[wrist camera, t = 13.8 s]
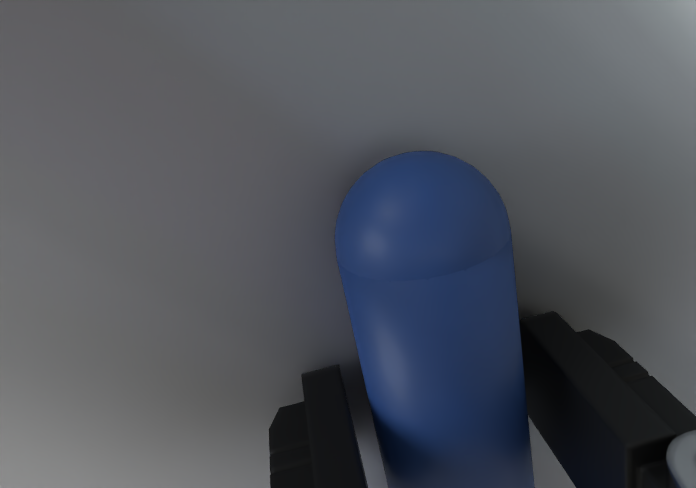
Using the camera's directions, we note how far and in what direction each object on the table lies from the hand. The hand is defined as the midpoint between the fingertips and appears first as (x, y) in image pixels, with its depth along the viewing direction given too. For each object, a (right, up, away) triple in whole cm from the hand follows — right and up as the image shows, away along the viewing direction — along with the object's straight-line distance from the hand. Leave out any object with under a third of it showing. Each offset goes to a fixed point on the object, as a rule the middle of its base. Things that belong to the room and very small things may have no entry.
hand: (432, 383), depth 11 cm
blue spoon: (0, -2, +1) cm, 2 cm away
